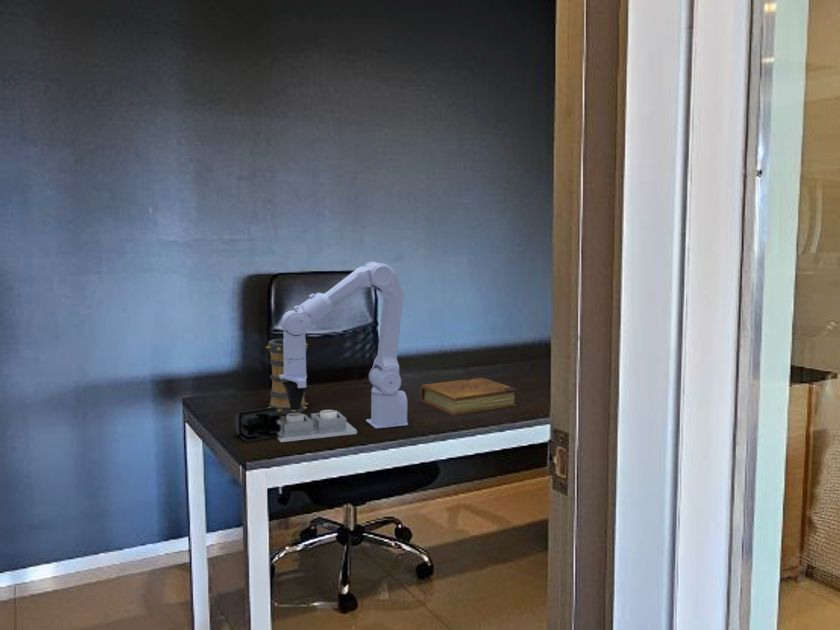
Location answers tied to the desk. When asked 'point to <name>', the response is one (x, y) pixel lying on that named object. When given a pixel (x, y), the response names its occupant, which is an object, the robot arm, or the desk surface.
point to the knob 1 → (294, 417)
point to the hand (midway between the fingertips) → (295, 409)
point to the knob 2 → (328, 414)
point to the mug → (280, 380)
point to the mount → (314, 428)
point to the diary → (468, 395)
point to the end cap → (257, 424)
